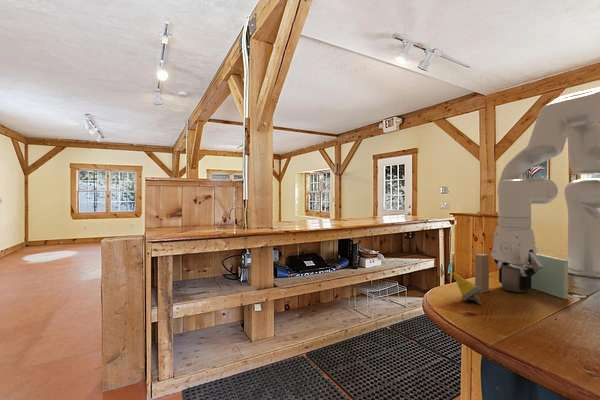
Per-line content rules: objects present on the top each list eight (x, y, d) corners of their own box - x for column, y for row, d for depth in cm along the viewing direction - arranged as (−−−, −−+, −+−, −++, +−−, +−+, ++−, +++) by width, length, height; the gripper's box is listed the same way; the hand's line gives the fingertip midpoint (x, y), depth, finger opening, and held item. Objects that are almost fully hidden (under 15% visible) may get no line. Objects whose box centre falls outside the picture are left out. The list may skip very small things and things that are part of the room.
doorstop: (509, 283, 89) (509, 263, 89) (532, 289, 84) (532, 268, 84) (497, 287, 87) (497, 266, 86) (519, 293, 81) (519, 271, 81)
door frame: (531, 277, 97) (531, 244, 97) (538, 278, 96) (539, 245, 95) (475, 291, 85) (475, 254, 85) (481, 293, 83) (482, 255, 83)
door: (512, 281, 92) (513, 249, 92) (516, 281, 93) (516, 249, 92) (563, 298, 78) (564, 260, 77) (567, 298, 78) (568, 260, 78)
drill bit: (473, 309, 73) (443, 275, 79) (472, 311, 78) (444, 279, 83) (491, 297, 73) (461, 264, 78) (490, 300, 77) (460, 268, 83)
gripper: (479, 220, 92) (479, 278, 93) (532, 227, 75) (532, 298, 76) (500, 219, 94) (500, 276, 94) (556, 225, 77) (556, 295, 77)
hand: (514, 285), depth 85 cm, fingers closed on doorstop, 6 cm apart
